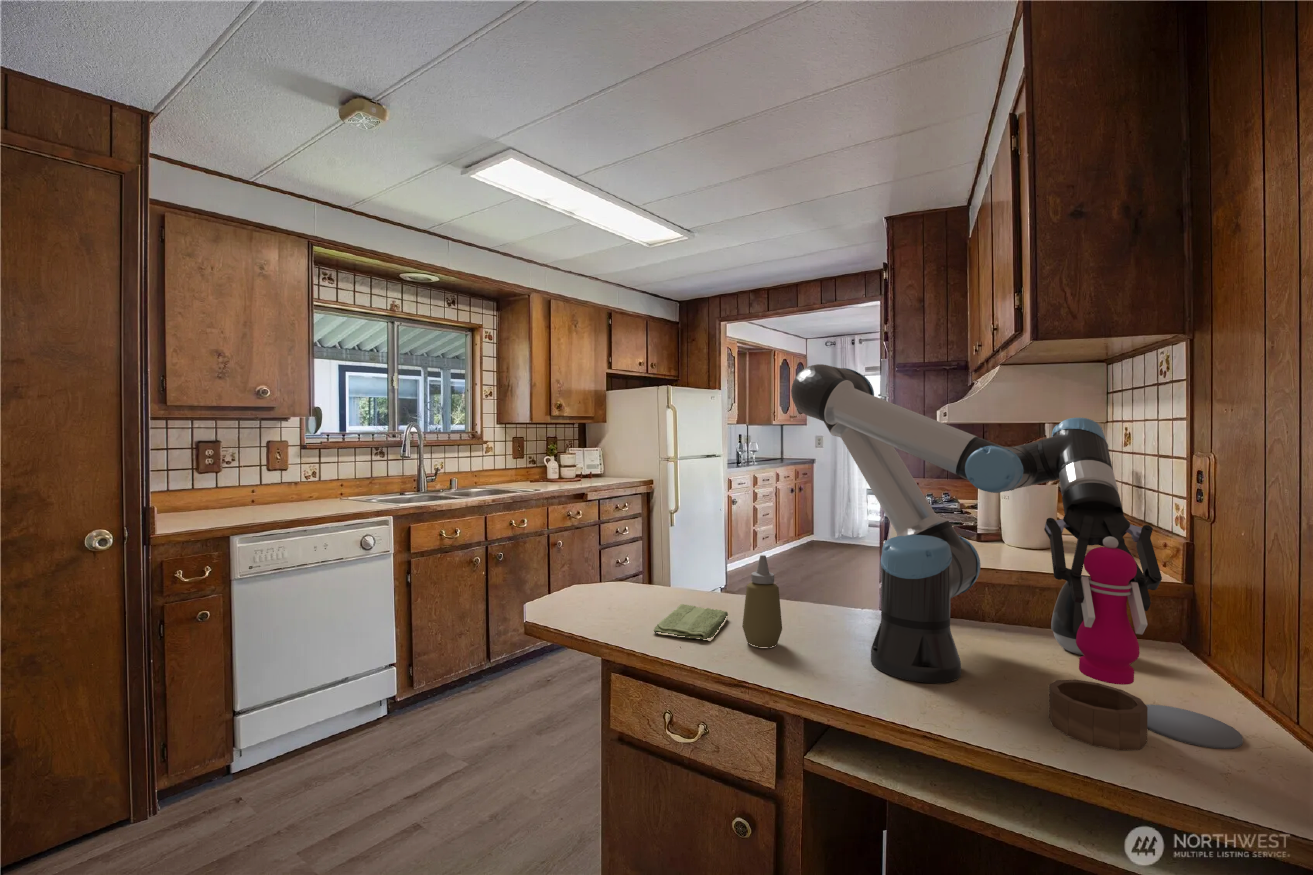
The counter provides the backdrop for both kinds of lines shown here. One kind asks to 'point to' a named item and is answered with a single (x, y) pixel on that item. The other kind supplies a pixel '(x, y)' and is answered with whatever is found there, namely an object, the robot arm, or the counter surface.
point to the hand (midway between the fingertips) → (1115, 625)
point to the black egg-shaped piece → (1067, 619)
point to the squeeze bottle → (762, 608)
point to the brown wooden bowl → (1098, 714)
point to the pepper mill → (1109, 617)
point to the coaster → (1192, 727)
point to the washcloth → (692, 622)
